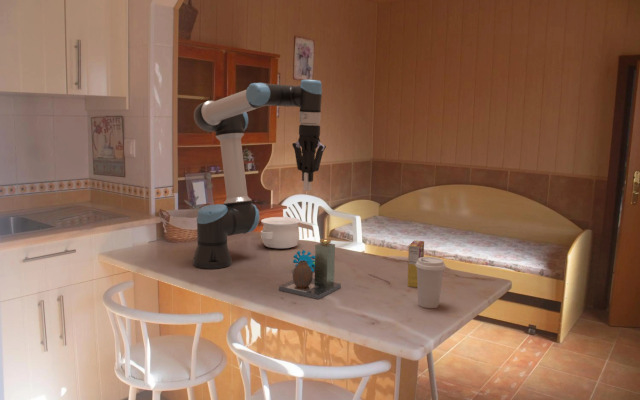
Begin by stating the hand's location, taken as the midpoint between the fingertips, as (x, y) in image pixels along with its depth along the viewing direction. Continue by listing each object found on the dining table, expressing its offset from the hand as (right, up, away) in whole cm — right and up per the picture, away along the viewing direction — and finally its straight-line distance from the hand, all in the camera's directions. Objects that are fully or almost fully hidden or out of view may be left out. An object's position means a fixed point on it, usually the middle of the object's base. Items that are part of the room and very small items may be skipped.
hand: (307, 190), depth 198 cm
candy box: (+39, -34, +3) cm, 52 cm away
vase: (-1, -33, -9) cm, 35 cm away
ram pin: (+6, -28, -5) cm, 29 cm away
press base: (+1, -35, -7) cm, 35 cm away
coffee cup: (+40, -38, -19) cm, 58 cm away
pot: (-14, -25, +54) cm, 61 cm away
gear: (-1, -31, +16) cm, 35 cm away
